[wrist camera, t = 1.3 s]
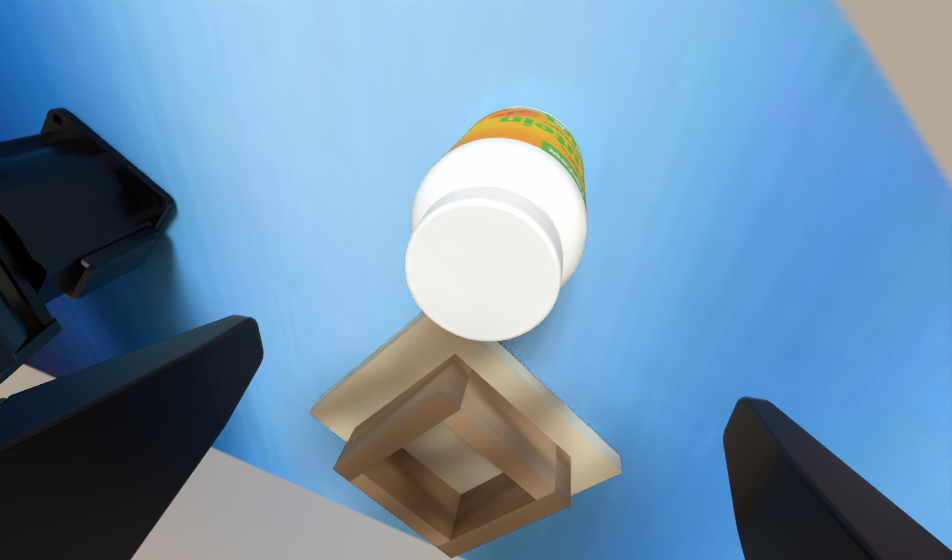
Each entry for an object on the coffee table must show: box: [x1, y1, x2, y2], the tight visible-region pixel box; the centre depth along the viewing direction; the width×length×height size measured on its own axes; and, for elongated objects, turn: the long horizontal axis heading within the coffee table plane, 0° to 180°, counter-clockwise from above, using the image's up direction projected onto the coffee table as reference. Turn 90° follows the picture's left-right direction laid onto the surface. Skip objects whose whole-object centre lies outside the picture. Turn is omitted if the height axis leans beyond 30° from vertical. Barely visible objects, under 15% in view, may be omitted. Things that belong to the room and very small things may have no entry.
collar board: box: [309, 312, 622, 558], centre depth 26 cm, size 14×12×4 cm
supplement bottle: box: [405, 107, 588, 341], centre depth 16 cm, size 5×5×10 cm
